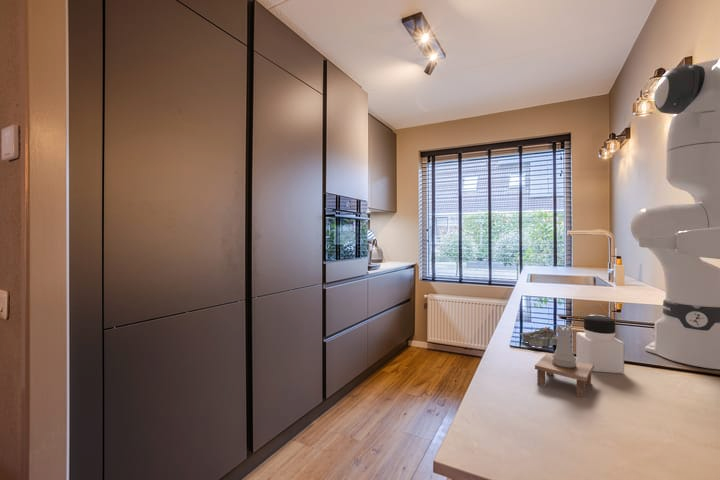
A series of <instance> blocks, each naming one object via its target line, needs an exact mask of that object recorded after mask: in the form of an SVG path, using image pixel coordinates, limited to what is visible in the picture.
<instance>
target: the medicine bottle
mask: <svg viewBox="0 0 720 480" xmlns="http://www.w3.org/2000/svg"><path fill="white" fill-rule="evenodd" d="M575 335H576V336H575V337H576V339H575V340H576V343H575V344H576V345H575V346H576V349H575V351H576V352H575V355H576V356H575V358H576V361H581V362H586V363H590V364H594V369H593V370H592V372H596V373H597V372H598V373H611V374H622V375H623V374H624V373H625V342H623V341H621V340H620V339H618V338H617V337H615V336H616V320H615V319H614V318H612V317H610V316H606V315H602V314H601V315H600V314H588V315H585V316H584V317H583V332H581V331H580V332H579V331H578V332H576V334H575Z"/></svg>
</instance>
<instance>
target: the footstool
mask: <svg viewBox="0 0 720 480" xmlns="http://www.w3.org/2000/svg"><path fill="white" fill-rule="evenodd" d="M552 355H553V354H547V353H545V354H544V356H543V357H541V358H540V360H539V361H538V362H536V363H535V364H534V370H536V371H537V374H536V375H537V379H536V382H537V385H539V386H542V387H545V385H546V375H549V376H553V375H558V376H562V377H566V378H571V379H573V380H576V396H578V397H583V398H585V396H586V385H589V386H591V384H592V372H593V371H592V370H593V369H594V364H590V363H586V362H581V361H577V360H576V361H575V363H576V364H577V365H576V366H575V367H574V368H563V367H559V366H557V365H555V364H554V363H553V361H552V360H553V359H554V358H553V357H552Z"/></svg>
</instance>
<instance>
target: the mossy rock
mask: <svg viewBox="0 0 720 480" xmlns="http://www.w3.org/2000/svg"><path fill="white" fill-rule="evenodd" d="M519 334H520V336H521V342H522V341H523V342H528V343H530V344H529V346H530V345H531V346H535V347H542V346H553V345H557V338H556V337H557V336H558V335H557V332H556V331H555V330H553V329H551V327H550V326H548V327H547V326H545V327H541V328H540V329H539V330H534V331H528V332H524V333H523V332H520V333H519ZM531 346H530V347H531ZM535 347H534V348H535ZM553 347H554V346H553ZM542 348H543V347H542Z"/></svg>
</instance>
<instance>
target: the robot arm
mask: <svg viewBox="0 0 720 480" xmlns="http://www.w3.org/2000/svg"><path fill="white" fill-rule="evenodd" d="M653 97H654V98H653V100H654V106H655V108H656V110H658V111H659V112H660V113H663V114H668V115H672V118H671V121H670V125H669V127H668V133H667V140H666V161H665V162H666V164H665V166H666V170H665V171H666V175H665V176H666V180H667V182H668V184H670V185H671V186H672V187H674V188H676V189H678V190H681V191H684V192H687V193H688V194H689V195H690V196H691V197H692V199H693V201H694V203H690V204H689V203H686V204H684V203H683V204H680V203H679V204H660V205H655V206H650V207H646V208H645V207H644V208H641V209H640V210H638V211H637V212H636V213H635V214H634V215H633V218H632V219H631V222H630V231H631V232H630V233H631V234H632V237H633V238H634V239H635V240H636V241H637V243H638V246H639V247H640V248H645V249H646V248H647V249H648V250H649V251H650V252H652V254H654V256H655V257H656V259H657V260H658V261H659V263H660V266H661V267H662V271H663V275H664V277H663V278H664V288H665V289H664V290H665V291H664V292H665V298H664V299H663V300H662V301H663V302H662V313H663V315H662V317H660V318H658V319H657V320H655V323H654V326H653V327H654V329H653V331H654V335H653V339H654V340H653V341H652V342H650V343H649V344H648V345H646V346H645V348H644V351H646V352H649V353H652V354H654V355H658V356H660V357H662V358H665V359H667V360H669V361H673V362H677V363H681V364H684V365H688V366H694V367H700V368H705V369H713V370H720V267H718V266H717V265H714V264H712V263H710V262H707V261H704V260H703V259H701V258H707V259H716V260H720V58H717V59H712V60H711V59H710V60H707V61H703V62H701V61H700V62H698V63H694V64H689V63H688V64H684V65H680V66H677V67H673V68H672V69H669V70H667V71H666V72H665V73H664V74H663V75H662V76H661V77H660V78H659V80H658V81H657V84H656V86H655V90H654V96H653Z"/></svg>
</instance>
